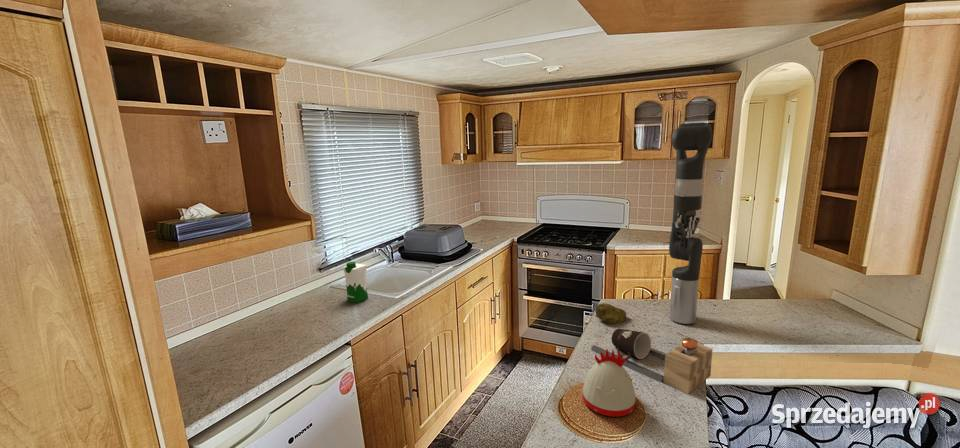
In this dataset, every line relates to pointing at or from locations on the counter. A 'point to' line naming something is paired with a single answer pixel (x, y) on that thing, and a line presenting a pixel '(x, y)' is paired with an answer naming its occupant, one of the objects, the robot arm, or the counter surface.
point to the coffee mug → (632, 342)
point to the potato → (610, 313)
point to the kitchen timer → (609, 387)
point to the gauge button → (689, 345)
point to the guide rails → (636, 366)
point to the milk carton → (356, 282)
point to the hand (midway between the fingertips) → (684, 249)
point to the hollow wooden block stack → (687, 368)
